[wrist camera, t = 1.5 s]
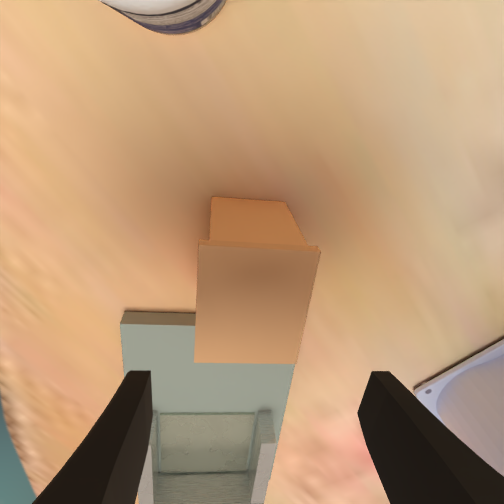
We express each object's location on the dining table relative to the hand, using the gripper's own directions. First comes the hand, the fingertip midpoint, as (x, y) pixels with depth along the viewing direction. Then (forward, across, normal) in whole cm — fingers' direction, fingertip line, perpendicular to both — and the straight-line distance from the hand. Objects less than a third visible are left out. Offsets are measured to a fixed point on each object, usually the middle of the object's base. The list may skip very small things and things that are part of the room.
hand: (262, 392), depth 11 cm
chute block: (+10, 0, 0) cm, 10 cm away
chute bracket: (+9, +2, +16) cm, 18 cm away
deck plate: (+10, +2, +12) cm, 16 cm away
